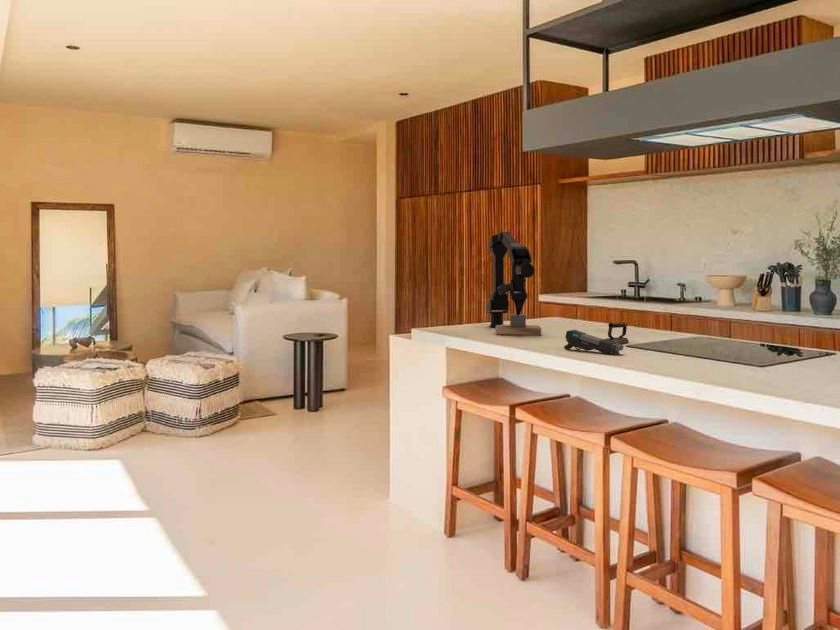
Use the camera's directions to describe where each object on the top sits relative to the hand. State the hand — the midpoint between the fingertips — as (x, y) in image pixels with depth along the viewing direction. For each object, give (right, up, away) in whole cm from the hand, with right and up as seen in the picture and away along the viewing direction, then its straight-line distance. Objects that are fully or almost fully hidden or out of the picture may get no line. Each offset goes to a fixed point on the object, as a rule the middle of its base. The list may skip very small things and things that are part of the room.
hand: (518, 314), depth 299 cm
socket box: (0, -8, +1) cm, 8 cm away
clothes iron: (+34, -11, -27) cm, 45 cm away
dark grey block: (0, -7, +1) cm, 7 cm away
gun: (+19, -13, -49) cm, 54 cm away
